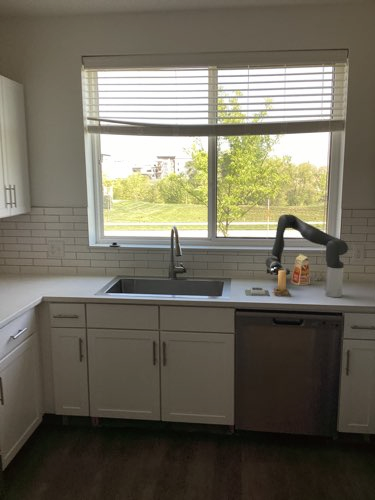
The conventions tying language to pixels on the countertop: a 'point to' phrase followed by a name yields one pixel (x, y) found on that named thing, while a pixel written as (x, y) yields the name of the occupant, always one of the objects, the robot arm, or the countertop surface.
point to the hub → (257, 291)
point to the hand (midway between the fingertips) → (279, 273)
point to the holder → (281, 293)
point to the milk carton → (301, 271)
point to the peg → (281, 280)
